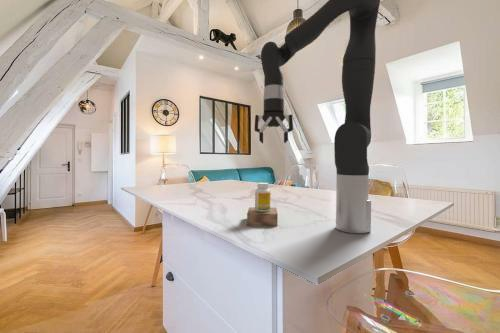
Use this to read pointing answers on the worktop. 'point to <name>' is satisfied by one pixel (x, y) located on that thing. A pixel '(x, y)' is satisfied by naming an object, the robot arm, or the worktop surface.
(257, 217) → the walnut block
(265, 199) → the supplement bottle
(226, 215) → the worktop surface
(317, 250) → the worktop surface
